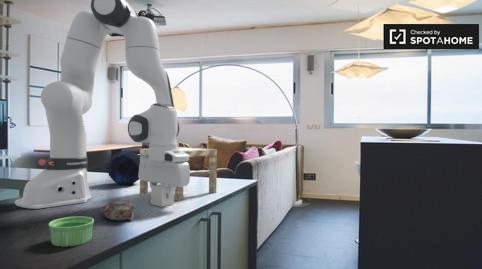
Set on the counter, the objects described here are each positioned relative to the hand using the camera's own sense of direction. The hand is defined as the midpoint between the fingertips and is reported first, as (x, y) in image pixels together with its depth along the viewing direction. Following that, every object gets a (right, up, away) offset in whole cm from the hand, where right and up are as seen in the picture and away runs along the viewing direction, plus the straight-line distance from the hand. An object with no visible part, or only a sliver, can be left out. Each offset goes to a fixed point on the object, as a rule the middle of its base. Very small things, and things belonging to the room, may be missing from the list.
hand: (162, 197), depth 115 cm
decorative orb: (-24, -1, +38) cm, 44 cm away
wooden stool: (+2, -2, +20) cm, 20 cm away
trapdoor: (+2, +14, +20) cm, 24 cm away
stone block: (0, -2, 0) cm, 2 cm away
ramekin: (-12, -3, -36) cm, 38 cm away
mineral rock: (-9, -3, -16) cm, 18 cm away
